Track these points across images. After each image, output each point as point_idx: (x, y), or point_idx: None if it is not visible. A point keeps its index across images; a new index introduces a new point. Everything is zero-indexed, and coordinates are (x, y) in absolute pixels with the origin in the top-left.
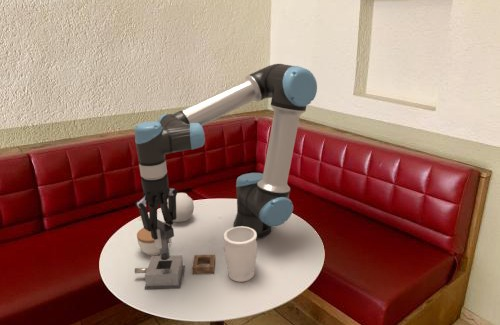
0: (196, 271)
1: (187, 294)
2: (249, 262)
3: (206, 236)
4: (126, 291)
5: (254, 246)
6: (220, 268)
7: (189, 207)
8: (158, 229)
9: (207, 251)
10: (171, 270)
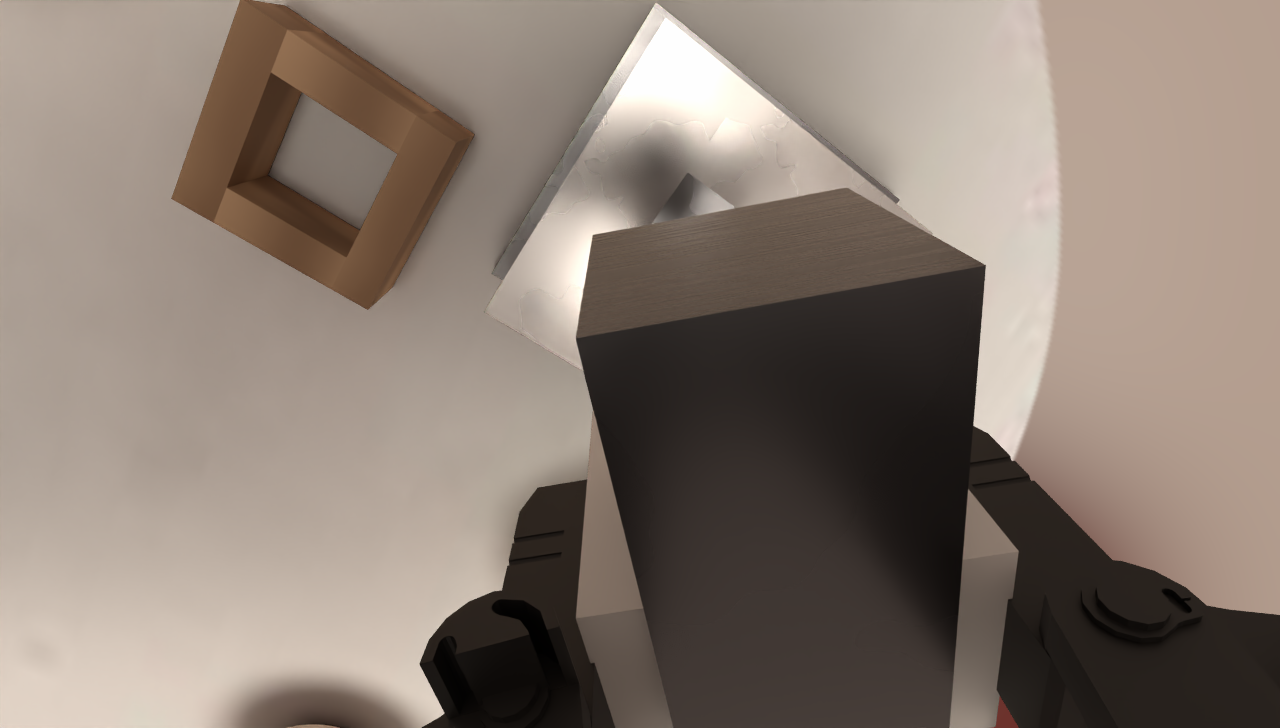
0: (432, 113)
1: None
2: None
3: (203, 518)
4: (1002, 262)
5: None
6: (199, 41)
7: None
8: (964, 581)
9: (249, 347)
10: (689, 133)
